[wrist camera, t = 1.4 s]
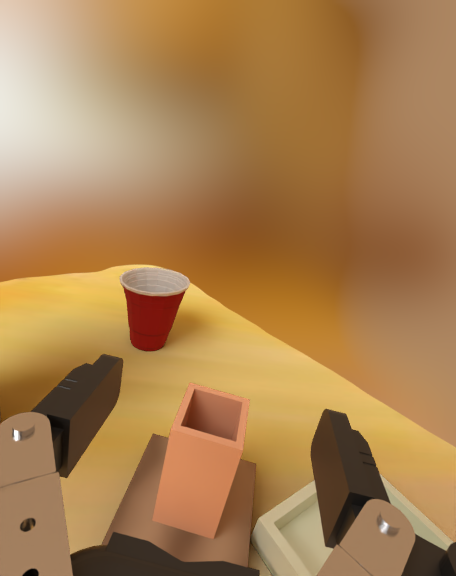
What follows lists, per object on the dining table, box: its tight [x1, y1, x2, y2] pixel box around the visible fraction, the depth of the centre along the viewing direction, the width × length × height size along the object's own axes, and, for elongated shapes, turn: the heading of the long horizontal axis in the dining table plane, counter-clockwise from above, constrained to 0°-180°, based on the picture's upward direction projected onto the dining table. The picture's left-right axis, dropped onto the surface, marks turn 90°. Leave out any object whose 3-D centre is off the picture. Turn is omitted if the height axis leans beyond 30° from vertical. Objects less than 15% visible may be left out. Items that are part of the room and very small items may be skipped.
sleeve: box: [152, 383, 250, 539], centre depth 30 cm, size 6×6×11 cm
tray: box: [250, 473, 454, 576], centre depth 30 cm, size 16×16×3 cm
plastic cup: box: [120, 268, 190, 351], centre depth 54 cm, size 11×11×12 cm
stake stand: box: [102, 434, 256, 567], centre depth 31 cm, size 12×12×8 cm
